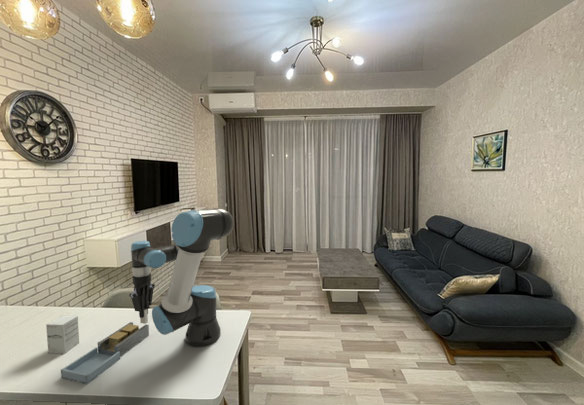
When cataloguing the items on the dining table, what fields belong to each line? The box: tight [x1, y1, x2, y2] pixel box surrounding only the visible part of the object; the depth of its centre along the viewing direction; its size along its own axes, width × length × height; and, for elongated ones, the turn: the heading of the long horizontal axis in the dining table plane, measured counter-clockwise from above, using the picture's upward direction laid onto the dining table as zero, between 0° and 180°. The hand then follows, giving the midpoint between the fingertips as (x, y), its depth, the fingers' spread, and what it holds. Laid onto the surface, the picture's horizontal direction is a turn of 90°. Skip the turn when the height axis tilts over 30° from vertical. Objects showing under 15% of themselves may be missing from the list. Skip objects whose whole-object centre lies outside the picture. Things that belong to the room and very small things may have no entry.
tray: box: [60, 346, 121, 385], centre depth 97 cm, size 12×13×3 cm
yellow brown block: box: [109, 331, 128, 347], centre depth 108 cm, size 5×4×4 cm
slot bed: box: [97, 322, 150, 358], centre depth 111 cm, size 10×16×5 cm, turn 167°
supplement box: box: [45, 315, 80, 354], centre depth 108 cm, size 7×7×13 cm
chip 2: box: [121, 324, 140, 336], centre depth 113 cm, size 5×4×4 cm
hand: (144, 322), depth 121 cm, fingers closed
